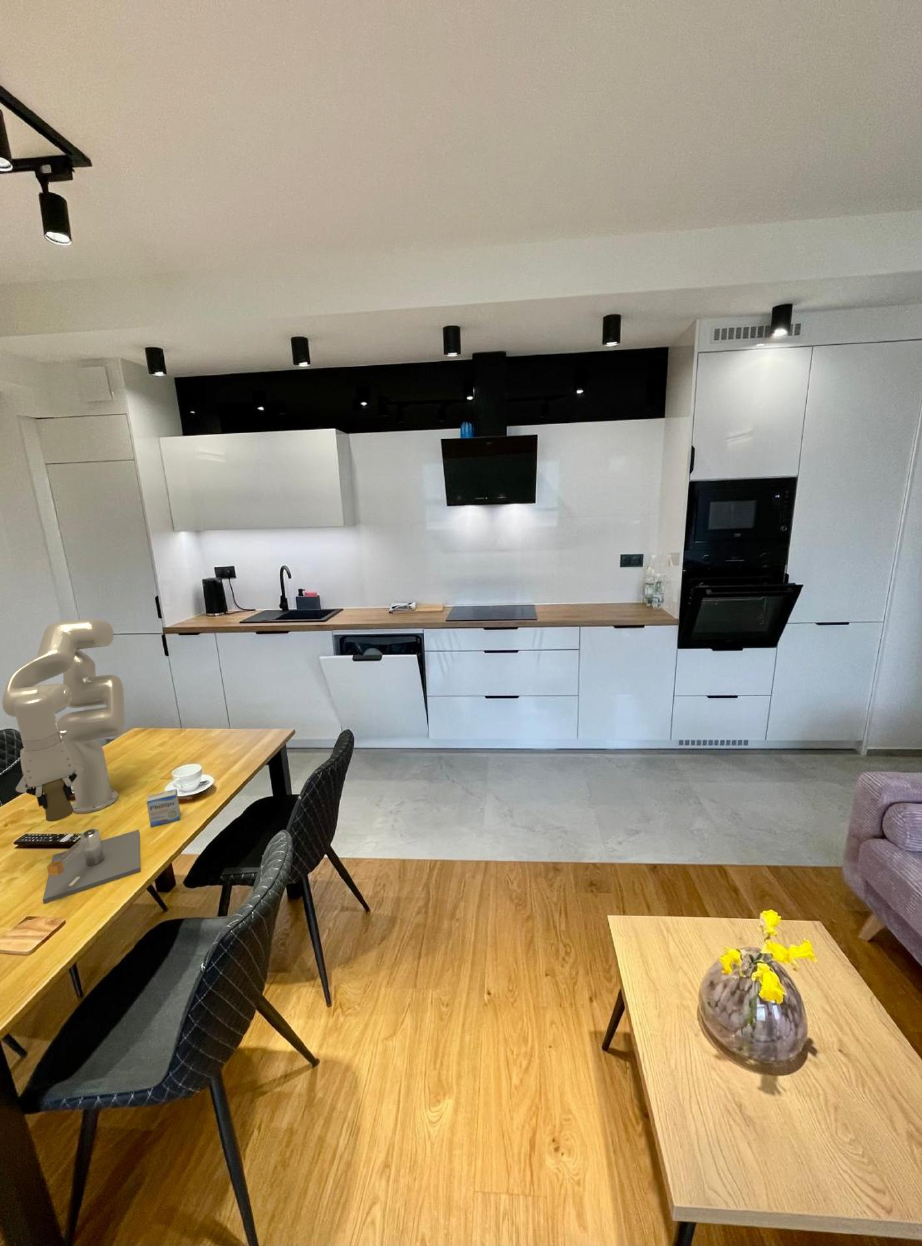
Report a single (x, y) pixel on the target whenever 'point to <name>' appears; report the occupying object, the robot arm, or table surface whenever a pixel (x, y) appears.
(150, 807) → the medicine box
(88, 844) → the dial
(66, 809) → the cork
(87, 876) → the dial plate
